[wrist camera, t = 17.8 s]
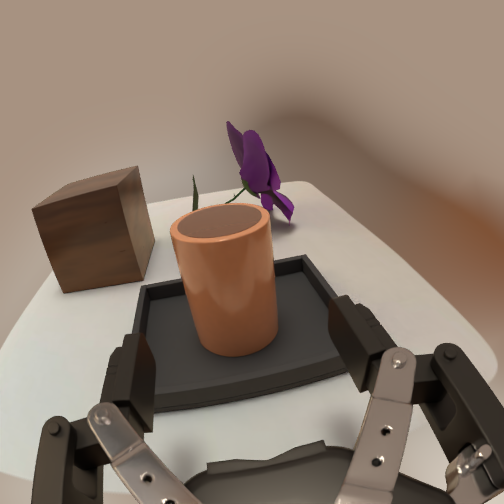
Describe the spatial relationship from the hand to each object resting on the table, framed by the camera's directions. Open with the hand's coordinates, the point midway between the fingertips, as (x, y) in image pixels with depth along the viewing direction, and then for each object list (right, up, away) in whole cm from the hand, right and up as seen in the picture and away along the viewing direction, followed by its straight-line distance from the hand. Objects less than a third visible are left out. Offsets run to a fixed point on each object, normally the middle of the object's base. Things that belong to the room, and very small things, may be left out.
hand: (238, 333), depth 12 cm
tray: (-1, -3, +11) cm, 11 cm away
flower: (-1, +7, +30) cm, 31 cm away
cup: (-1, -3, +11) cm, 11 cm away
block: (-18, +2, +24) cm, 30 cm away
